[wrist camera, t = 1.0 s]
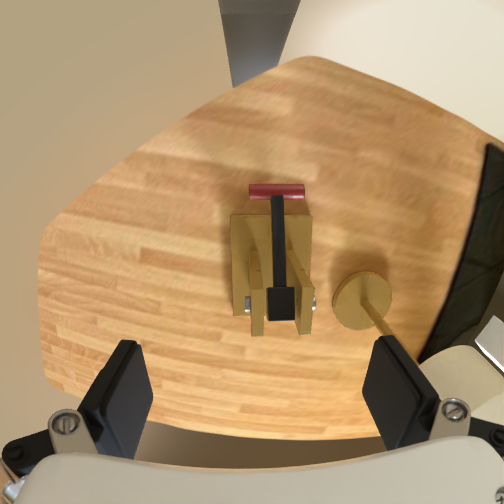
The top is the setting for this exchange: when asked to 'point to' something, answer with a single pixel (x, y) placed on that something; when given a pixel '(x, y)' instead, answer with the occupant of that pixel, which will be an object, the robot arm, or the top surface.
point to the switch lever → (278, 247)
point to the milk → (493, 341)
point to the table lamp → (436, 367)
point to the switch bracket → (270, 267)
